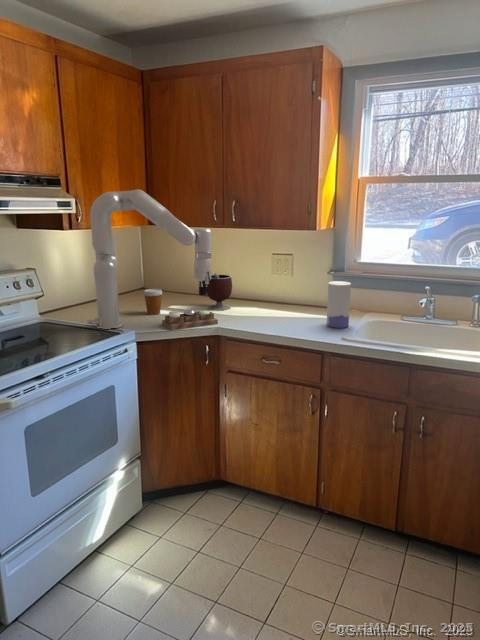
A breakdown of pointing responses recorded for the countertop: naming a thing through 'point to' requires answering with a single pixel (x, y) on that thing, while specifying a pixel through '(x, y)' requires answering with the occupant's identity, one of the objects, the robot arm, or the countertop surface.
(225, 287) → the mate gourd
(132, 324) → the countertop surface
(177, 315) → the cream button
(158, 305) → the disposable coffee cup
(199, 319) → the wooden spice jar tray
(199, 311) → the sage button
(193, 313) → the grey button
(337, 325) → the container
